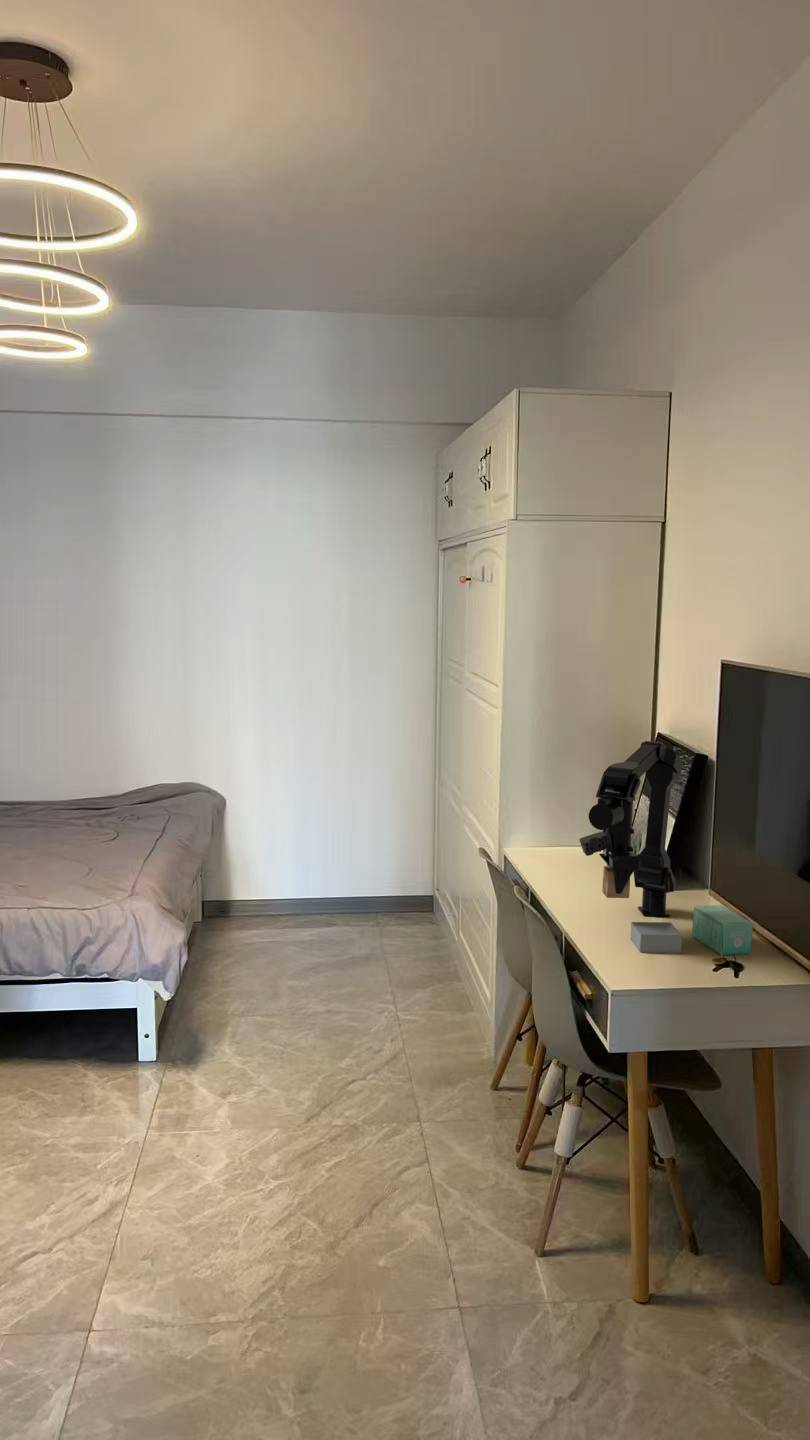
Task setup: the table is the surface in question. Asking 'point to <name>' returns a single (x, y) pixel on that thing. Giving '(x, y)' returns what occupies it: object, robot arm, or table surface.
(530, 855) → the table surface
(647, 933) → the base
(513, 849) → the table surface
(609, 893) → the block
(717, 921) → the box
